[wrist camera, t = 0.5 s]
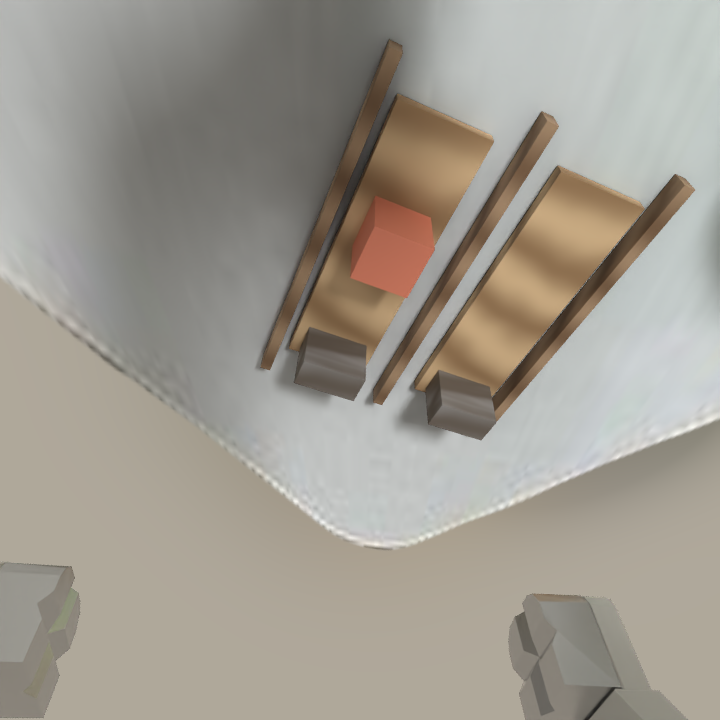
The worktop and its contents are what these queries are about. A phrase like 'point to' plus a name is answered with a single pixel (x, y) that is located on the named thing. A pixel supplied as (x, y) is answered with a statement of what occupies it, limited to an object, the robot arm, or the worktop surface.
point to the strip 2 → (522, 297)
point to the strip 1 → (380, 178)
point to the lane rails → (476, 248)
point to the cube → (392, 247)
